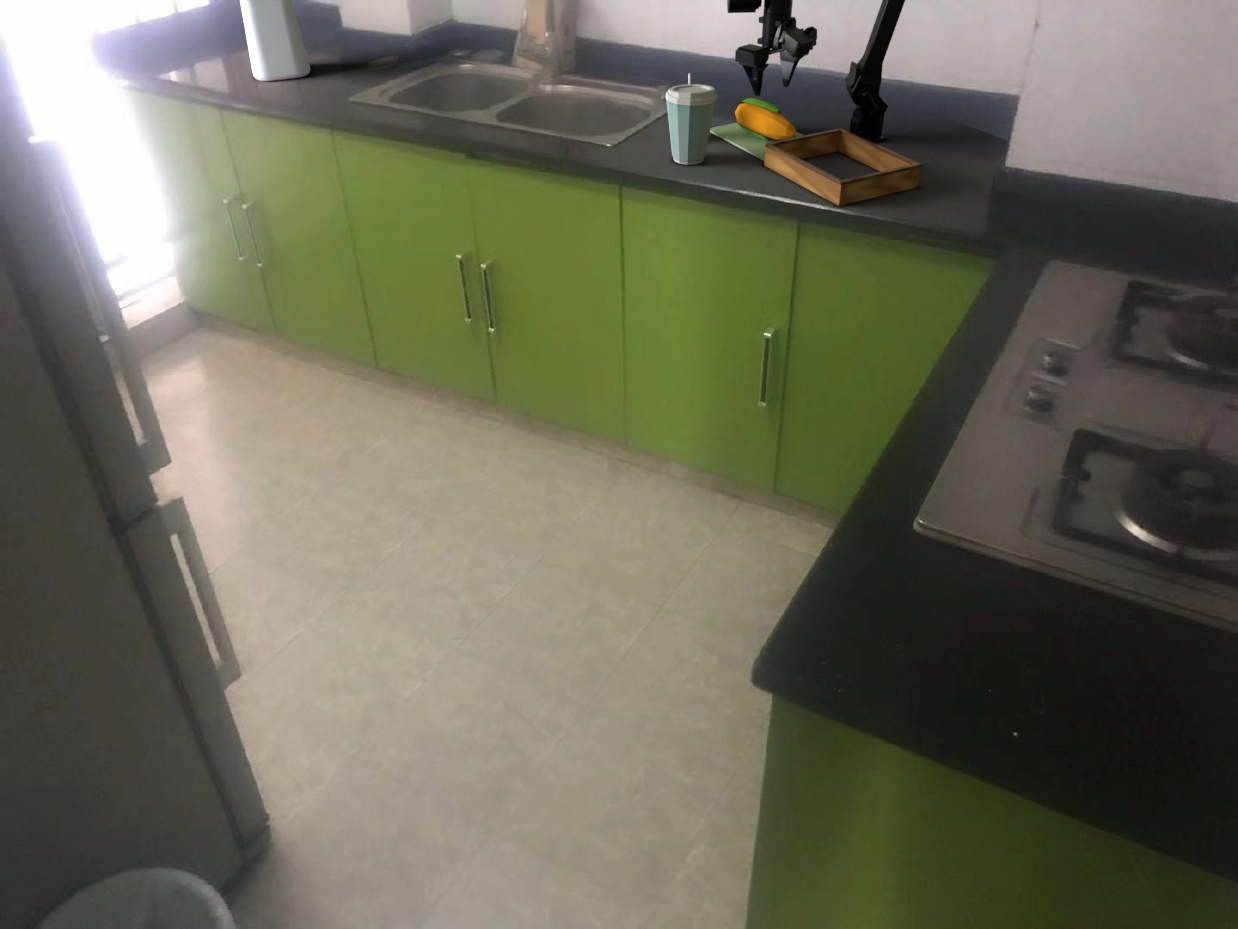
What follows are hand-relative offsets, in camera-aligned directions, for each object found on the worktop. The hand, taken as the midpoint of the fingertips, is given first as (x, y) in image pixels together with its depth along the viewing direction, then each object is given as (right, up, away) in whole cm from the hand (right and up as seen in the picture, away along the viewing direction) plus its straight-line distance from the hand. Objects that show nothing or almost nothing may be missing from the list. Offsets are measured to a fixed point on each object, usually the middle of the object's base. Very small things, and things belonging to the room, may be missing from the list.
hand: (771, 90), depth 203 cm
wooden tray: (+12, -22, -12) cm, 27 cm away
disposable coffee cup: (-18, -16, -3) cm, 24 cm away
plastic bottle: (-126, +28, +59) cm, 142 cm away
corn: (0, -8, +6) cm, 10 cm away
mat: (0, -8, +7) cm, 11 cm away
